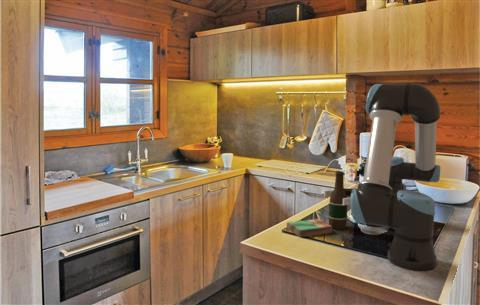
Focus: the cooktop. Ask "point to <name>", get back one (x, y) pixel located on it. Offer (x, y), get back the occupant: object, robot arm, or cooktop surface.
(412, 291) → the cooktop surface
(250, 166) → the cooktop surface
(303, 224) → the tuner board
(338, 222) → the beer bottle
